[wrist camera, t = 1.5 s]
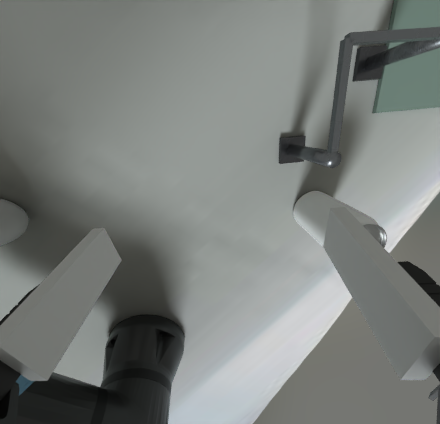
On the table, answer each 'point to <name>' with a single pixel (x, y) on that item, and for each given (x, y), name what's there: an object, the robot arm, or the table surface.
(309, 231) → the can
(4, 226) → the donut
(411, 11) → the mat
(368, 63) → the dark grey angled piece
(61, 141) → the table surface
